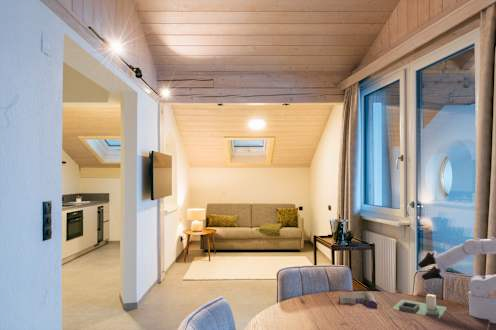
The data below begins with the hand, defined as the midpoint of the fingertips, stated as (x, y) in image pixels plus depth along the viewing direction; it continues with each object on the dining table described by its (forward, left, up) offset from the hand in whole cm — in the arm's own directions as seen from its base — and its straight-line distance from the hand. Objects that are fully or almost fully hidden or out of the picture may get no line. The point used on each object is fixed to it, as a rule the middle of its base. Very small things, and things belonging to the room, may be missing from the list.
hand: (421, 271), depth 148 cm
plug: (-4, +1, -14) cm, 15 cm away
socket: (+3, +8, -14) cm, 17 cm away
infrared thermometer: (+23, +13, -16) cm, 31 cm away
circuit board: (0, +4, -15) cm, 16 cm away
